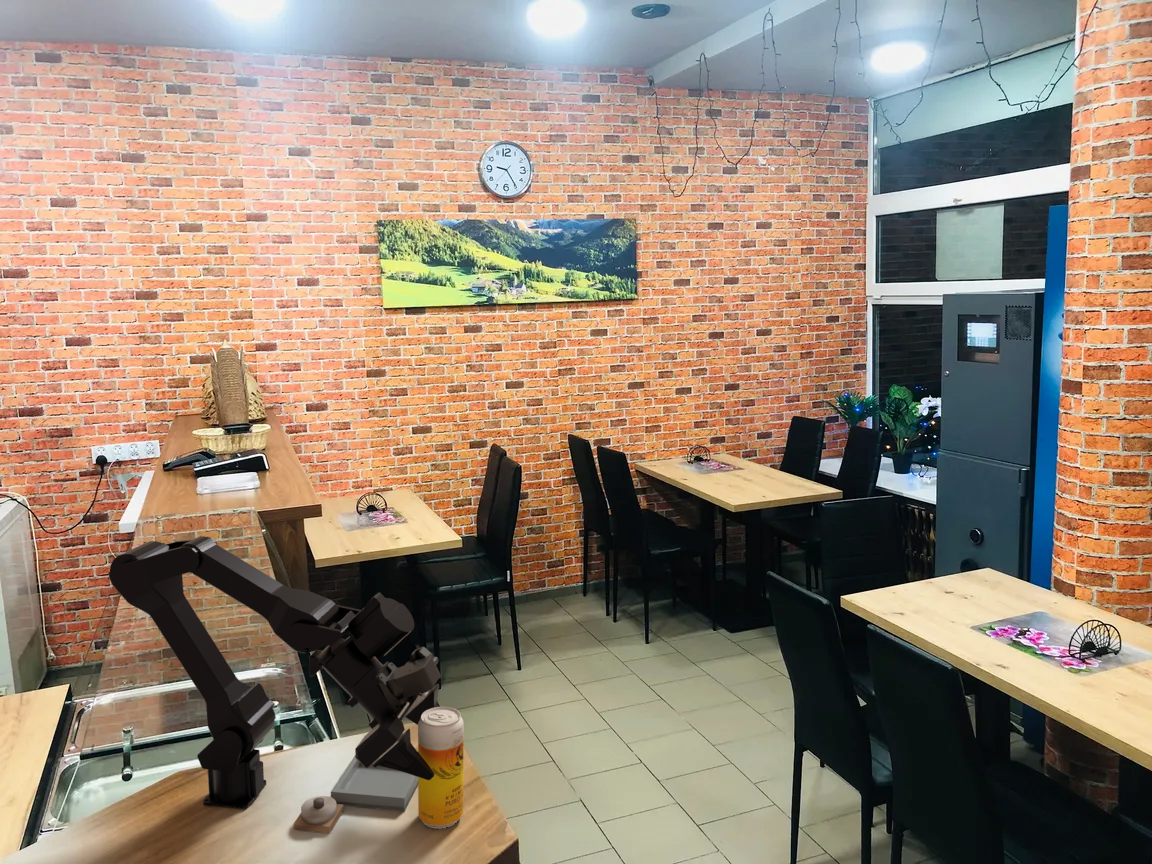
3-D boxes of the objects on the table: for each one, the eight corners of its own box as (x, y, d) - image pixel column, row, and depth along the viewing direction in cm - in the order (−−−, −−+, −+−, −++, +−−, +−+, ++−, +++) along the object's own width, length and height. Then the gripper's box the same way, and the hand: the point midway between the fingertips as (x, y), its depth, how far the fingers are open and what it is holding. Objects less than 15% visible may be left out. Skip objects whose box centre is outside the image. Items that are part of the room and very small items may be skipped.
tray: (331, 804, 124) (330, 791, 124) (357, 763, 134) (357, 751, 134) (404, 811, 123) (404, 798, 122) (425, 769, 133) (425, 757, 133)
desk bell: (293, 830, 118) (293, 809, 118) (309, 808, 123) (308, 788, 122) (329, 833, 118) (329, 813, 117) (343, 811, 122) (343, 791, 122)
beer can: (454, 834, 118) (454, 729, 115) (411, 827, 119) (410, 723, 117) (469, 808, 124) (469, 708, 121) (428, 802, 125) (428, 702, 123)
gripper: (377, 670, 109) (464, 761, 109) (424, 613, 127) (499, 691, 127) (318, 723, 111) (404, 812, 112) (372, 660, 129) (446, 737, 130)
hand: (442, 758), depth 120 cm, fingers open, 9 cm apart
